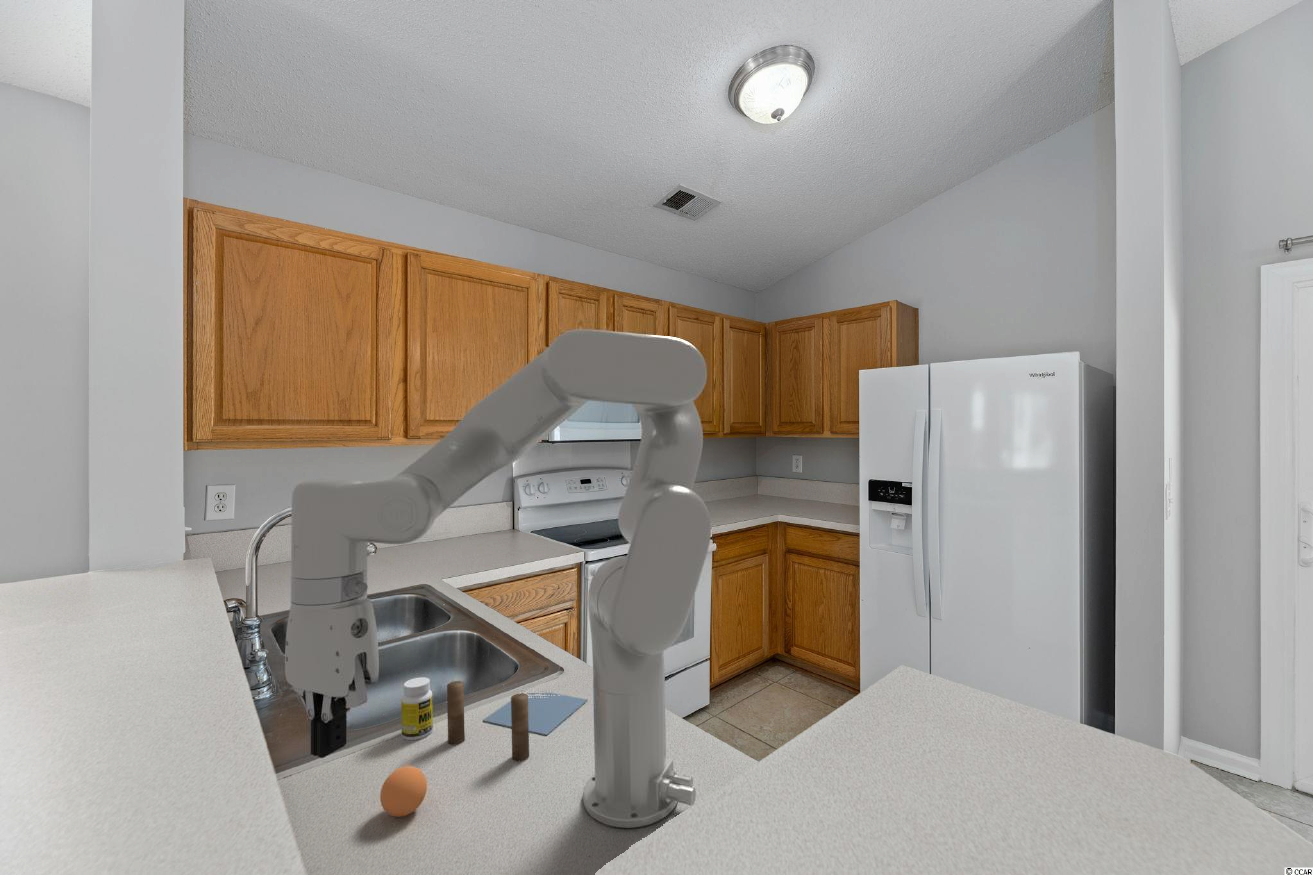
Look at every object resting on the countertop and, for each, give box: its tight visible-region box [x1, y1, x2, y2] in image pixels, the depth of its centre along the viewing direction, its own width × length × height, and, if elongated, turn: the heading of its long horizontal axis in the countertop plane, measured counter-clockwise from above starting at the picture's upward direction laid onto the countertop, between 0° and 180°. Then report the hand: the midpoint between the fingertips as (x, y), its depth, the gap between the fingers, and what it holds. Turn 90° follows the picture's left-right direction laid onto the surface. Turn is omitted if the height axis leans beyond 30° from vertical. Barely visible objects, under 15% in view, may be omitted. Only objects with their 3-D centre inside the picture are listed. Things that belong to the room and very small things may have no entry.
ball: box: [379, 765, 428, 818], centre depth 72 cm, size 6×6×6 cm
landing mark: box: [482, 690, 589, 736], centre depth 99 cm, size 13×13×1 cm
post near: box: [510, 692, 530, 763], centre depth 85 cm, size 2×2×9 cm
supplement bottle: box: [400, 676, 434, 741], centre depth 92 cm, size 5×5×8 cm
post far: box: [446, 680, 466, 746], centre depth 89 cm, size 2×2×9 cm
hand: (328, 750), depth 63 cm, fingers closed
